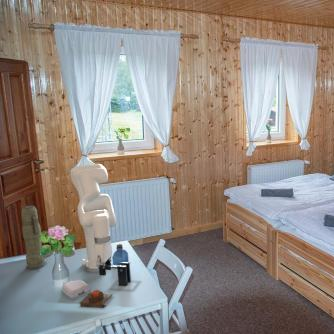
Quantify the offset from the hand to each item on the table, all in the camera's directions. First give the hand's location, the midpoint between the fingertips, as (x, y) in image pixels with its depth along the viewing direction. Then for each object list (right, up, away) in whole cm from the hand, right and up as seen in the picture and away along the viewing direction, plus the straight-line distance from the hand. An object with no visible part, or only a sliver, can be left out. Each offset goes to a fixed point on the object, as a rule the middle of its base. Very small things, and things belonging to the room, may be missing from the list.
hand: (105, 272), depth 196 cm
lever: (+5, +2, -1) cm, 5 cm away
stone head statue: (-48, -3, +23) cm, 53 cm away
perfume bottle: (0, -2, +23) cm, 23 cm away
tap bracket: (+10, -7, 0) cm, 12 cm away
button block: (+1, -10, -14) cm, 18 cm away
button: (+1, -7, -15) cm, 17 cm away
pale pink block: (-14, -9, -5) cm, 17 cm away
